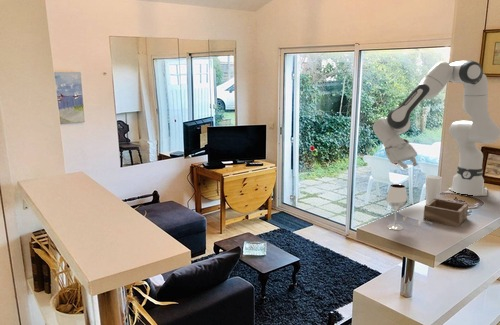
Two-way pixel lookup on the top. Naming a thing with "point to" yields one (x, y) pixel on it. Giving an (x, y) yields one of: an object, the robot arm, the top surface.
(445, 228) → the top surface
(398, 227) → the wineglass
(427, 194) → the white rectangular block
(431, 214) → the walnut crate
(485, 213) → the top surface
